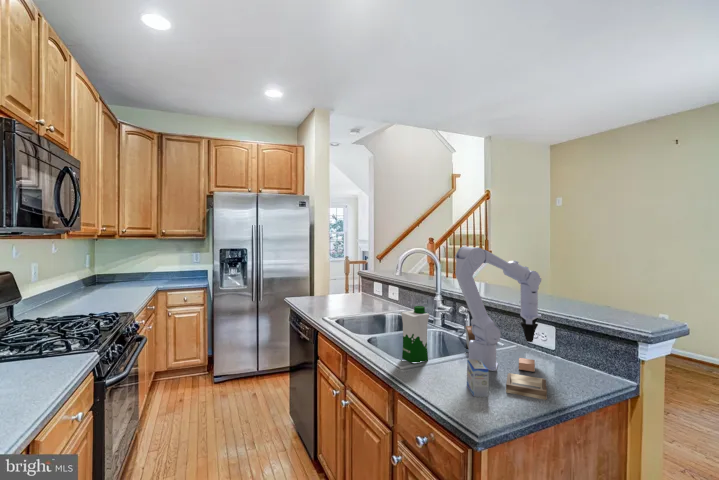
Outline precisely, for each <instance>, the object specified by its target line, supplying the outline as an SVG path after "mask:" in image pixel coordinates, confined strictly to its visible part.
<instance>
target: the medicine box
mask: <svg viewBox="0 0 719 480" xmlns="http://www.w3.org/2000/svg"><path fill="white" fill-rule="evenodd" d="M466 361H467V362H466V386H467V388H468V389H469V391H470V393H471V395H472V397H474V398H488V397H489V383H490V381H489V379H490V375H489V374H490V370H488V368H487V367H486V366H485V365H484V363H483V362H482V361H481V360H478V359H469V358H468V359H467V360H466Z"/></svg>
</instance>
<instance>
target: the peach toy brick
mask: <svg viewBox="0 0 719 480" xmlns="http://www.w3.org/2000/svg"><path fill="white" fill-rule="evenodd" d="M535 368H536V361H535V359H531V358H523V357H519V359H518V371H527V372H531V373H534V374H535Z"/></svg>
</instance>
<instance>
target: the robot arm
mask: <svg viewBox="0 0 719 480" xmlns="http://www.w3.org/2000/svg"><path fill="white" fill-rule="evenodd" d="M454 259H455V262H456V263H455V273H454V274H455V277H456V280H457V282H458V285H459V287H460V290H461V293H462V295H463V298H464V300H465V302H466V303H465V304H466V305H467V308H468V310H469V312H470V315H471V317H472V319H470V324H471V326H472V333H473V334H474V335H475V340H470V342H469V350H468V359H478V360H481V361H482V362H483V363H484V365H485V366H486V367H487V368H488V370H489V372H490V371H491V372H497V370H498V367H499V363H498V362H497V345H498V342H499V341H500V339H501V335H502V334H501V331H500V329H499V328H498V327H497V326H496V324H495V322H494V320H492V318H491V317H490V316H489V315H488V311H487V310H486V306H485V305H484V302H483V300H482V296H481V295H480V292H479V289H478V287H477V284H476V282H475V279H474V277H473V276H474V274H475V272H476V271H477V270H478V269H479V268H480V267H481V266H482V265H483V264H489V265H492V266H493V267H495V268H498V269H500V270H502V273H503V274H504V275H505V276H507V277H509V278H510V279H513V280H515V281H517V282H518V284H520V314H519V315H520V317H521V320H522V321H520V326H521V328H522V330H523V333H524V334H523V335H524V339H525V341H526V343H533V341H534V337H535V332H536V330H537V328H538V326H539V323H537V321H538V318H542V314H541V313H540V314H539V311H538V310H539V309H538V308H539V306H538V305H539V304H538V303H539V302H538V300H539V299H538V298H539V296H538V295H539V293H538V291H539V288H540V284H541V283H542V278H541V275H540V274H539V272H537V271H535V270H530V269H529V267H528V266H523V265H521V264H520V262H519V261H517V260H509V261H506V260H504V259H503V258H501V257H499V256H497V255H495V254H494V253H492V252H491V251H489V250H486V249H484V248H481V247H476V246H475V247H471V246H468V245H464V246H462V247H460V248H458V250H457V252H456V254H455V256H454Z"/></svg>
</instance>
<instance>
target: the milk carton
mask: <svg viewBox="0 0 719 480" xmlns="http://www.w3.org/2000/svg"><path fill="white" fill-rule="evenodd" d="M413 309H414V310H413ZM413 309H412V310H406V311H402V312H401V313H400V314H401V319H402V320H401V321H402V354H401V358H402V359H403V360H404V361H406V362H408V363H410V362H420V361H425V362H428V361H429V355H428V353H429V352H428V322H429V319H430V313H428V312H426V309H425V306H423V305H414V306H413Z"/></svg>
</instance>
